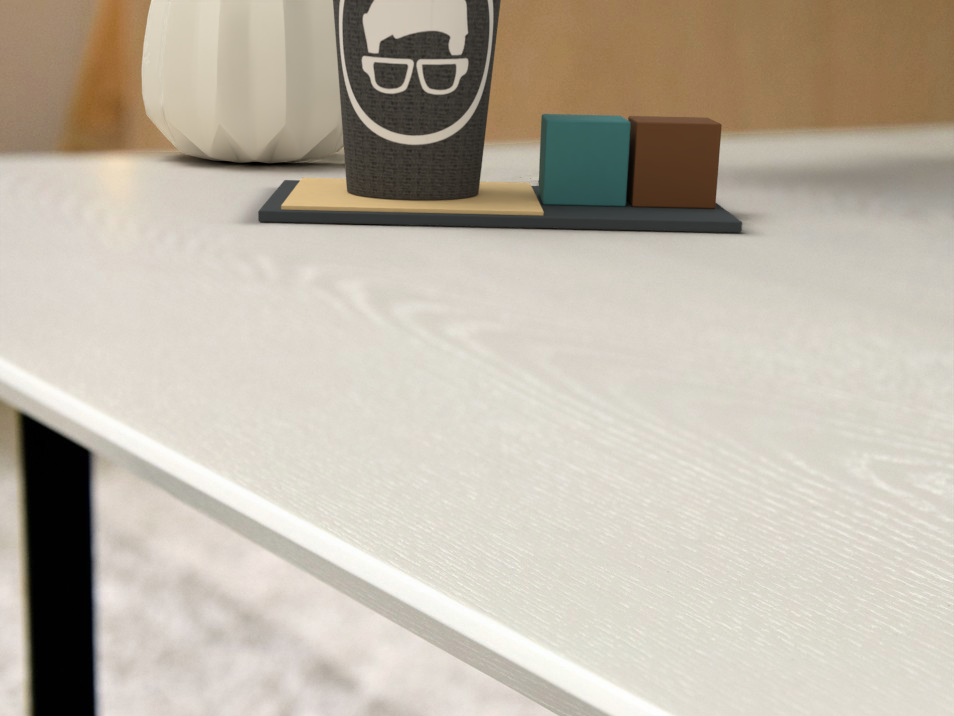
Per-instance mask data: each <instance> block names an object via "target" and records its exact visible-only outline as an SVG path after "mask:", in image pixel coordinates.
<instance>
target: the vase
mask: <svg viewBox="0 0 954 716" xmlns="http://www.w3.org/2000/svg"><path fill="white" fill-rule="evenodd" d="M147 13H148V14H147V20H146V25H145V30H144V31H145V32H144V38H143V39H144V40H143V46H142V58H141V70H140V71H141V94H142V95H141V96H142V101H143V105H144V109H145V114H146V116H147V117H148V118H149V120H150V121H151V122H152V123H153V125H154V126H155V127H156V128H157V129H158V130H159V132H161V134H162V135H163V136H164V137H165V138H166V139H167V140H168V141H169V143H171V144H172V145H173V147H174V148H176V150H177V151H178V152H180V153H181V154H184V155H186V156H191V157H195V158H199V159H204V160H209V161H214V162H232V163H239V164H247V163H264V164H276V163H277V164H278V163H299V162H306V161H312V160H318V159H324V158H328V157H332V156H333V155H334V154H336V153H338V152H340V150H342V149H344V144H343V130H342V116H341V103H340V89H339V75H338V62H337V49H336V35H335V22H334V9H333V0H150V3H149V9H148V12H147Z"/></svg>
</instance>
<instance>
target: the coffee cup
mask: <svg viewBox="0 0 954 716" xmlns="http://www.w3.org/2000/svg"><path fill="white" fill-rule="evenodd" d="M501 2H502V0H333V9H334V22H335V35H336V49H337V62H338V75H339V89H340V103H341V116H342V130H343V144H344V147H343V157H344V169H345V171H344V172H345V178H346V185H347V191H348V192H349V193H351V194H354V195H358V196H364V197H372V198H382V199H397V200H451V199H462V198H469V197H474V196H476V195H478V193H479V185H480V182H481V175H482V167H483V158H484V149H485V140H486V132H487V124H488V123H487V122H488V116H489V115H488V114H489V105H490V98H491V97H490V96H491V87H492V79H493V72H494V71H493V70H494V63H495V62H494V61H495V54H496V53H495V51H496V44H497V35H498V26H499V17H500V9H501Z"/></svg>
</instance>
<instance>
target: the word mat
mask: <svg viewBox="0 0 954 716" xmlns="http://www.w3.org/2000/svg"><path fill="white" fill-rule="evenodd" d="M540 120H541V121H540V139H539V140H540V142H539V164H538V165H539V166H538V184H537V185H532V184H531V183H530V182H519V181H517V182H511V181H480V185H479V193H478V195H476V196H474V197H469V198H462V199H451V200H397V199H382V198H372V197H364V196H358V195H354V194H351V193H349V192H348V191H347V185H346V177H345V178H344V177H343V178H338V177H301V178H300V179H298V180H297V179H284V180H283V181H282V183H280V185H279V186H278V187H277V189H275V191H274V192H273V193H272V194H271V195H270V196H269V198H268V199H267V200H266V201H265V202H264V204H263V205H262V206H261V207H260V209H259V210H258V212H257V213H258V214H257V217H258V218H257V220H258V222H262V223H269V222H270V223H299V224H300V223H301V224H304V223H305V224H306V223H308V224H347V225H350V224H352V225H387V226H388V225H389V226H391V225H392V226H396V225H399V226H432V227H433V226H434V227H435V226H436V227H475V228H477V227H478V228H515V229H517V228H518V229H519V228H522V229H524V228H525V229H561V230H562V229H565V230H566V229H567V230H602V231H603V230H604V231H605V230H607V231H609V230H611V231H646V232H647V231H648V232H649V231H651V232H654V231H655V232H688V233H689V232H693V233H735V234H737V233H738V234H740V233H742V229H743V222H742V221H741V220H740V219H739V218H737V217H736V216H734V215H733V214H732V213H731V212H729V210H727V209H725V208H724V207H723V206H721V205H720V204H718V202H717V191H718V179H719V166H720V165H719V164H720V152H721V141H722V140H721V139H722V128H723V125H722V123H720V122H718V121H715V120H714V119H711V118H709V117H703V116H702V117H701V116H700V117H699V116H698V117H696V116H695V117H694V116H693V117H692V116H690V117H689V116H658V115H657V116H656V115H655V116H654V115H651V116H650V115H628V118H625V117H623V116H622V115H610V114H609V115H607V114H568V113H567V114H564V113H559V114H558V113H542V114H541V118H540Z"/></svg>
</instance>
